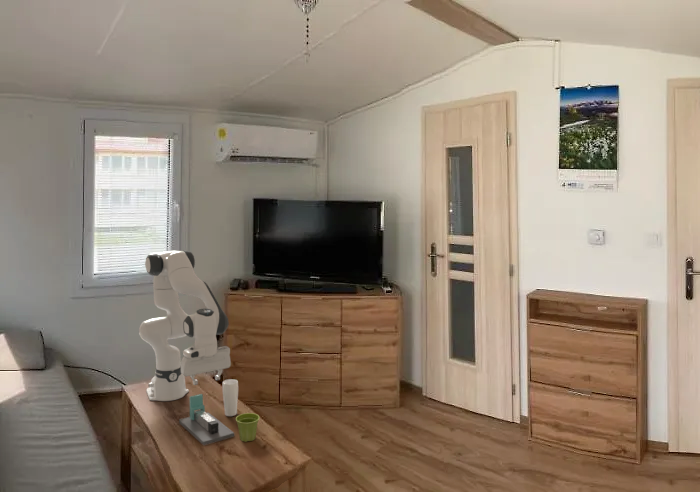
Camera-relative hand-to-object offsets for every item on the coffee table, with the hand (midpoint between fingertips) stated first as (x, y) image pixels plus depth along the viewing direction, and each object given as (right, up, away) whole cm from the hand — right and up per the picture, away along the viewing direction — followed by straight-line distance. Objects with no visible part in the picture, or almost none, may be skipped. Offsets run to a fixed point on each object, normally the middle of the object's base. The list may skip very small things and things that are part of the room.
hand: (206, 382), depth 222 cm
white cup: (+6, -19, +19) cm, 28 cm away
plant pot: (+18, -22, -5) cm, 28 cm away
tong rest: (0, -21, +3) cm, 21 cm away
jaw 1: (-1, -19, +2) cm, 19 cm away
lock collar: (-7, -18, +10) cm, 22 cm away
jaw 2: (0, -19, +3) cm, 19 cm away
